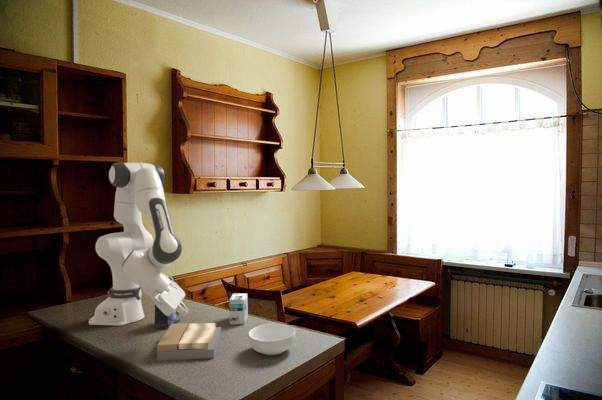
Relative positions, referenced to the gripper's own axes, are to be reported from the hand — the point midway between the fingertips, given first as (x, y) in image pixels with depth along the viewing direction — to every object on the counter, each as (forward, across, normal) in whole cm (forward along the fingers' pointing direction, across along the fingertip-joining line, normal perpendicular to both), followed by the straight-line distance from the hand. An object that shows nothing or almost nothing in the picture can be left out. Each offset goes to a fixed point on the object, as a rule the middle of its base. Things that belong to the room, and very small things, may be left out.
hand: (187, 313), depth 147 cm
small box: (0, +25, +18) cm, 31 cm away
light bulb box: (+21, +27, -3) cm, 34 cm away
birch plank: (+9, 0, +4) cm, 10 cm away
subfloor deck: (+10, 0, +8) cm, 12 cm away
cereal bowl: (+31, -7, -13) cm, 34 cm away
